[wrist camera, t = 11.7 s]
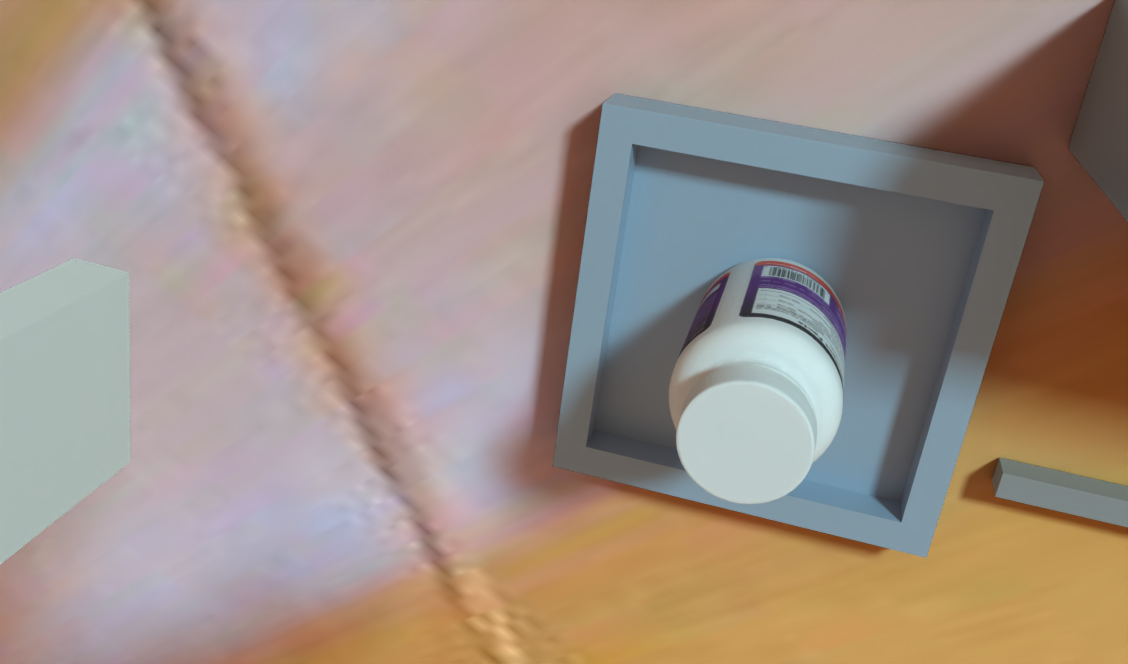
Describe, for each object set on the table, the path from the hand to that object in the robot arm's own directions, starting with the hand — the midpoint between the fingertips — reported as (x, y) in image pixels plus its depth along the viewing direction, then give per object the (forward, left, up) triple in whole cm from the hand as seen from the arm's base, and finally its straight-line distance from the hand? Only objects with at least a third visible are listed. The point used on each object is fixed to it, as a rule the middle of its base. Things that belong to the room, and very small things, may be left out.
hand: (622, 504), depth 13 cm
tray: (+1, -8, -27) cm, 28 cm away
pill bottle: (+1, -8, -27) cm, 28 cm away
